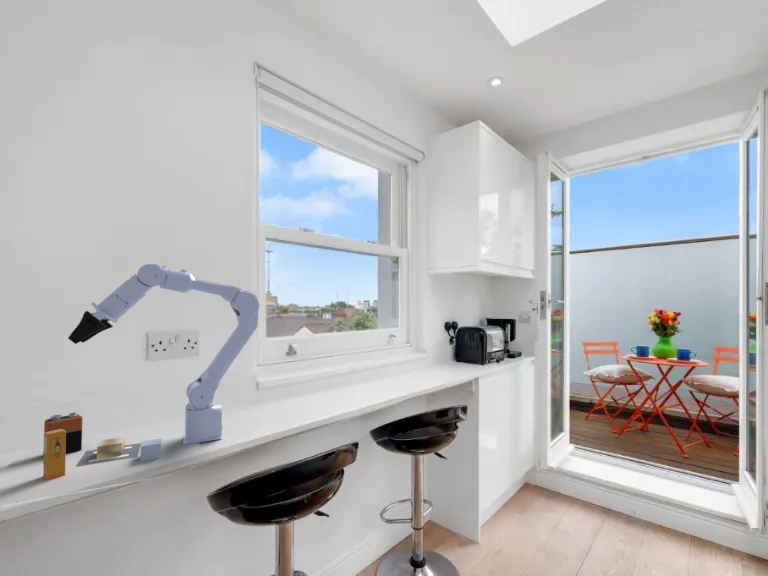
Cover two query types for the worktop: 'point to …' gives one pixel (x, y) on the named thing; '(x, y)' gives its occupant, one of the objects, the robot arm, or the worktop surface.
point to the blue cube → (150, 449)
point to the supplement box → (54, 454)
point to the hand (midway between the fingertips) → (75, 340)
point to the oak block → (110, 447)
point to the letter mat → (91, 457)
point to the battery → (67, 430)
